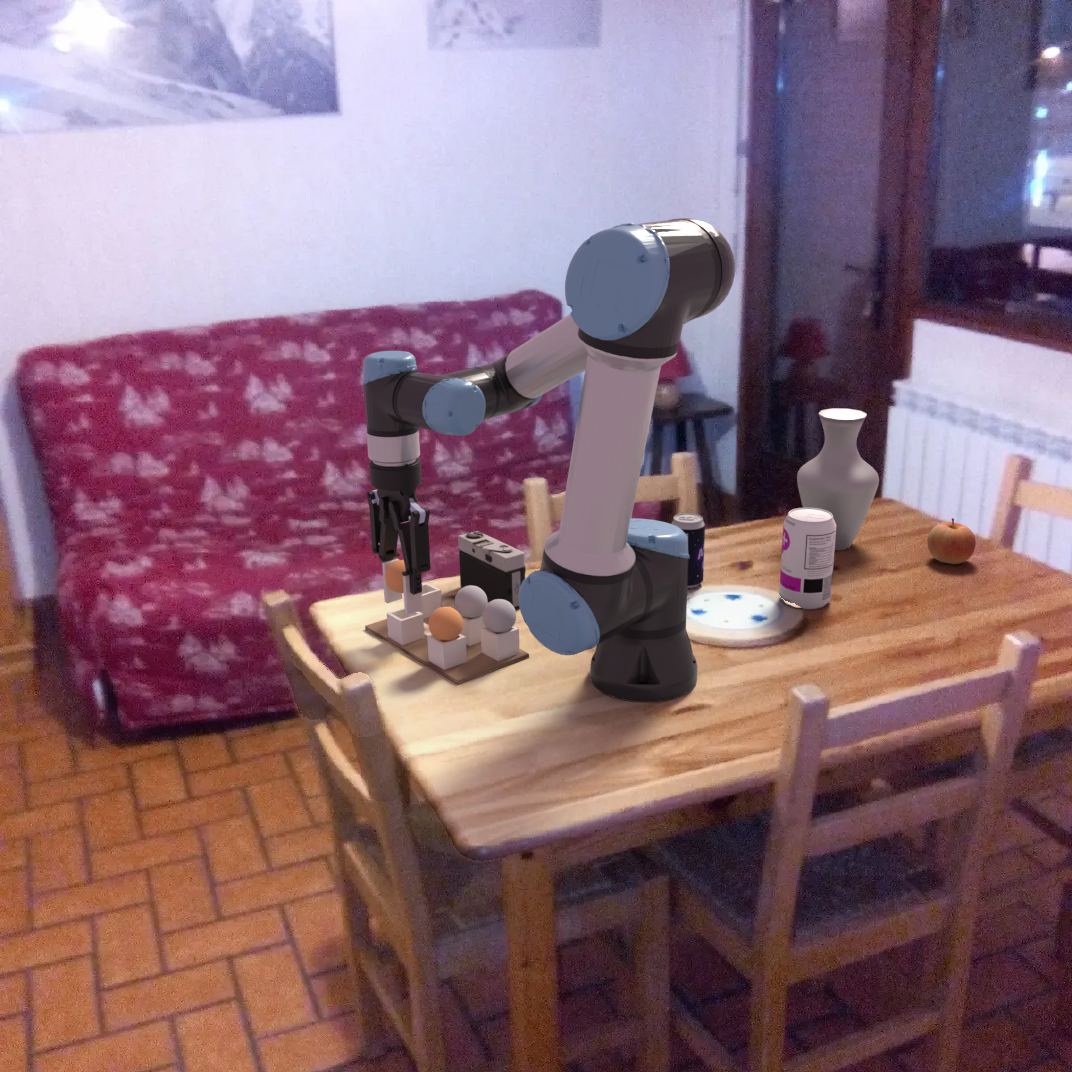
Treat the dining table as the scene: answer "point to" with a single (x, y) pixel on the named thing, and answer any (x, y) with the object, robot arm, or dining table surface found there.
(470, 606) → the grey ball
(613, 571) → the robot arm
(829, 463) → the vase
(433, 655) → the tubes
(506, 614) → the grey ball
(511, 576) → the camera
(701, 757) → the dining table surface
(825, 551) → the supplement can
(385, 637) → the rack board
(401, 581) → the orange ball
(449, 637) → the orange ball
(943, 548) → the apple
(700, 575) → the beverage can
